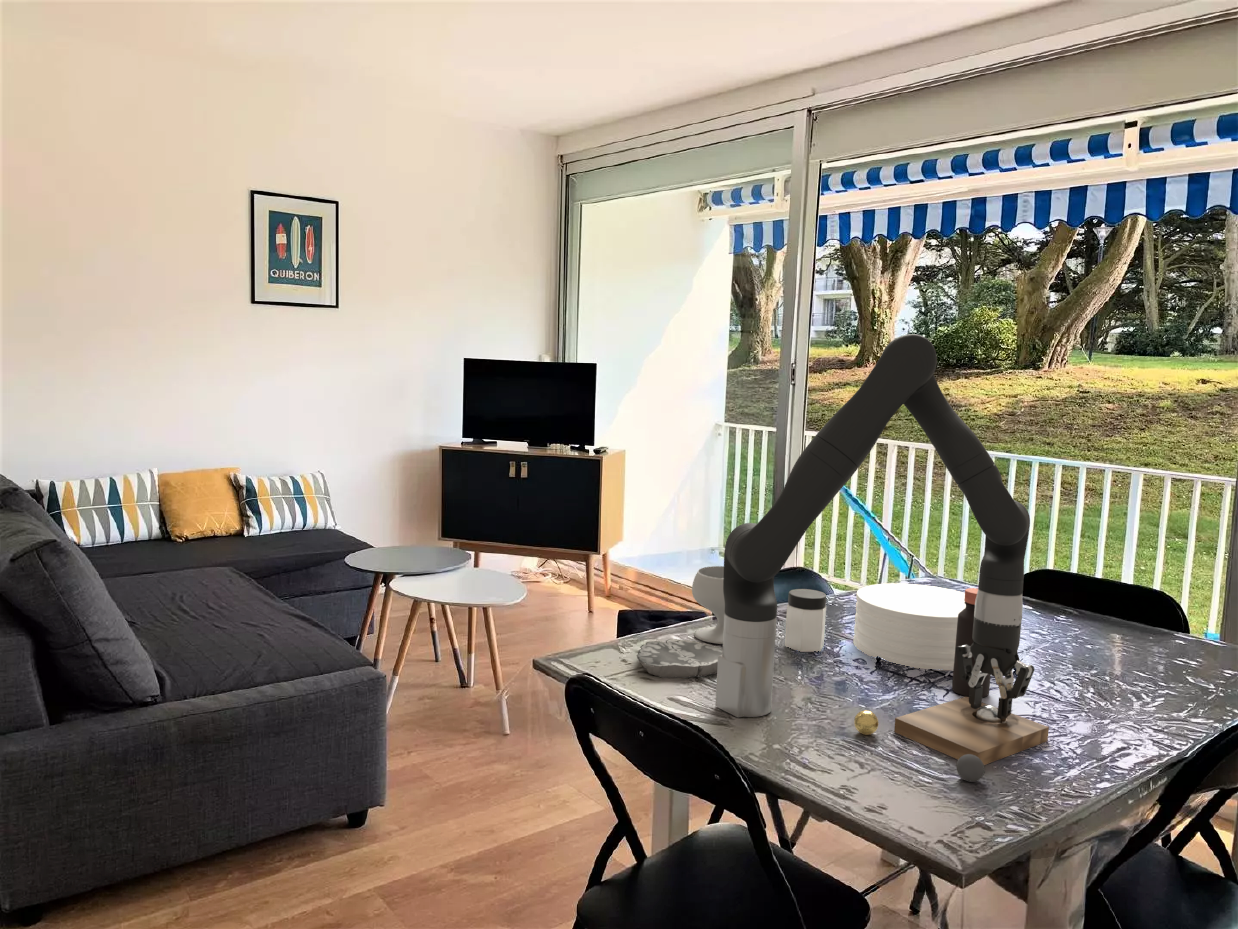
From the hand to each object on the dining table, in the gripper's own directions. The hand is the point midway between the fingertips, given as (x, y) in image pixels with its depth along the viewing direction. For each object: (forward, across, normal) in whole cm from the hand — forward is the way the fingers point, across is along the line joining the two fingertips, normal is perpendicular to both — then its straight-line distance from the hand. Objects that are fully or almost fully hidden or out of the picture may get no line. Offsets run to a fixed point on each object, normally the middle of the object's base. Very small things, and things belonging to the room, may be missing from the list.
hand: (989, 712), depth 160 cm
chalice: (+4, -63, -6) cm, 63 cm away
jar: (+4, -49, +6) cm, 49 cm away
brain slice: (+4, -53, -26) cm, 59 cm away
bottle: (+4, -13, +14) cm, 19 cm away
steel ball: (+1, 0, 0) cm, 1 cm away
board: (+3, 0, -5) cm, 6 cm away
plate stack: (+4, -35, +28) cm, 45 cm away
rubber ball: (+1, +10, -20) cm, 22 cm away
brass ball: (+1, -10, -20) cm, 22 cm away
